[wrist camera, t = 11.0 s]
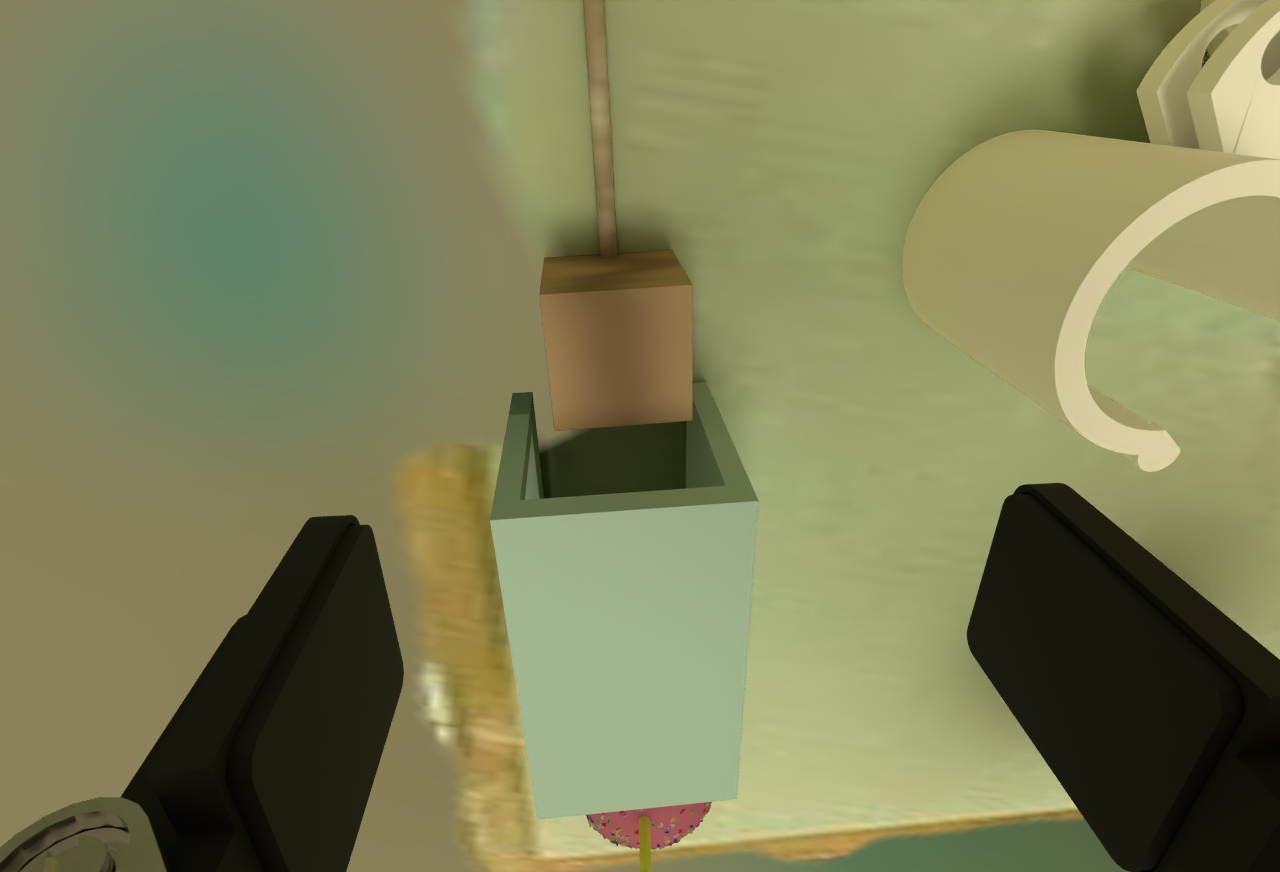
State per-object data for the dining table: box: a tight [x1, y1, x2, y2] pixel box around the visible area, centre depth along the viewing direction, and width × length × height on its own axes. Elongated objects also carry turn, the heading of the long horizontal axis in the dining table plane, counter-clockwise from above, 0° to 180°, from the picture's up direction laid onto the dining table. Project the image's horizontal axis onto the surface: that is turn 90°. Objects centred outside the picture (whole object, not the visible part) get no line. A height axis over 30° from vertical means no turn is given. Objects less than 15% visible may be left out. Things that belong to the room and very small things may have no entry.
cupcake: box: [586, 802, 712, 872], centre depth 43 cm, size 9×8×12 cm
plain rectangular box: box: [490, 382, 758, 820], centre depth 34 cm, size 10×18×11 cm, turn 1°
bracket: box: [902, 0, 1280, 472], centre depth 26 cm, size 25×10×12 cm, turn 137°
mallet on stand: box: [539, 0, 692, 431], centre depth 26 cm, size 6×24×7 cm, turn 2°
